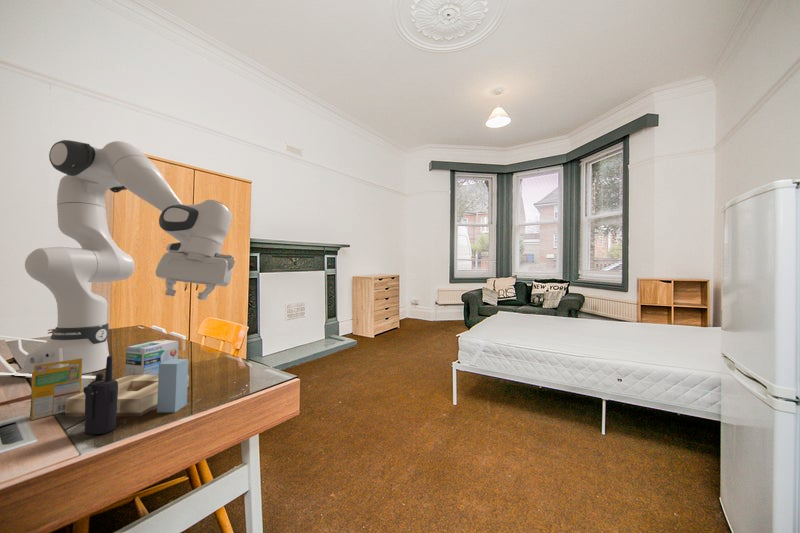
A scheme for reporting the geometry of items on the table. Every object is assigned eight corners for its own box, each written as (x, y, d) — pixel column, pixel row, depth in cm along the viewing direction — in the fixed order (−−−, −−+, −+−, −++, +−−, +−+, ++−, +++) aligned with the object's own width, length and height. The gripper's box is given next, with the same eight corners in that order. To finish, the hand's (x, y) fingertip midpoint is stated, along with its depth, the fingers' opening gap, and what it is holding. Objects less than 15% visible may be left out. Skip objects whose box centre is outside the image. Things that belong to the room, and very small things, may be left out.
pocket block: (65, 416, 65) (65, 398, 66) (128, 388, 81) (128, 374, 81) (140, 416, 66) (141, 399, 66) (188, 388, 82) (189, 374, 82)
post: (156, 412, 68) (158, 363, 68) (169, 404, 72) (171, 358, 72) (175, 412, 68) (176, 363, 69) (186, 404, 72) (188, 359, 73)
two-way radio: (120, 428, 61) (124, 354, 61) (95, 440, 57) (99, 360, 57) (98, 425, 62) (101, 352, 62) (71, 437, 57) (75, 358, 58)
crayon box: (78, 405, 71) (80, 356, 71) (80, 408, 69) (83, 358, 70) (29, 416, 65) (32, 363, 65) (30, 420, 63) (34, 365, 64)
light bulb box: (142, 387, 82) (144, 348, 83) (123, 385, 84) (124, 346, 84) (178, 375, 93) (179, 340, 93) (160, 373, 94) (162, 338, 95)
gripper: (242, 259, 90) (227, 304, 85) (178, 252, 91) (160, 296, 86) (230, 251, 84) (214, 299, 79) (162, 243, 85) (141, 290, 81)
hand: (185, 297), depth 83 cm, fingers open, 8 cm apart
